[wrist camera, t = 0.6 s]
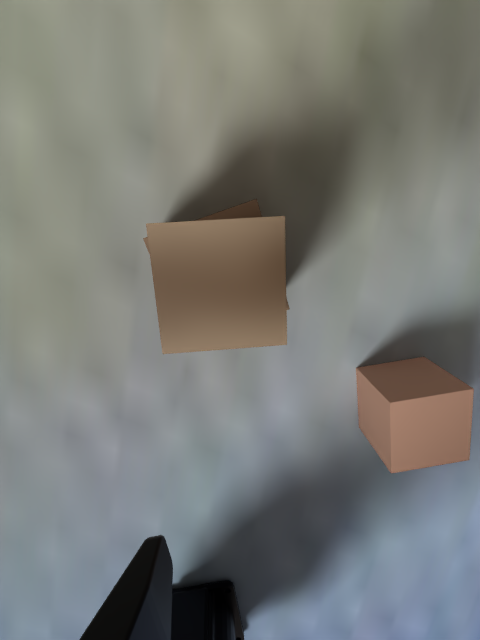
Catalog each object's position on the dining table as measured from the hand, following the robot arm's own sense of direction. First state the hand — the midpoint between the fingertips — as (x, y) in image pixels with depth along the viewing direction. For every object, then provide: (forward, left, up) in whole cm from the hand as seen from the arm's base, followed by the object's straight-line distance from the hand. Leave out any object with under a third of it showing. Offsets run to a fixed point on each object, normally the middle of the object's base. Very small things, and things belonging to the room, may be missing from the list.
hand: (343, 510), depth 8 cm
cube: (-5, -8, -13) cm, 16 cm away
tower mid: (+5, +2, -10) cm, 11 cm away
